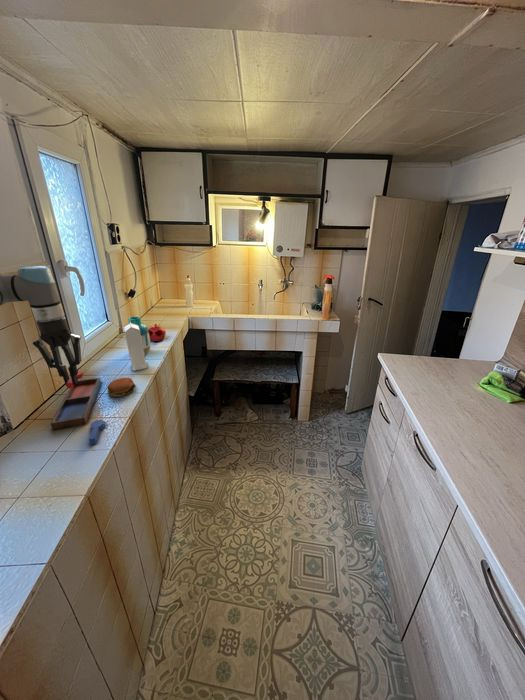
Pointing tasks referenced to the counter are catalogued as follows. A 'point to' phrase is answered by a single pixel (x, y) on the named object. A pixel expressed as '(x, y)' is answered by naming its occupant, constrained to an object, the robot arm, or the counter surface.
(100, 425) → the blue spoon
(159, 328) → the pomegranate
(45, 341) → the robot arm
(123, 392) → the burger
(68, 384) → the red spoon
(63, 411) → the tray
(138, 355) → the milk
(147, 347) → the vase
